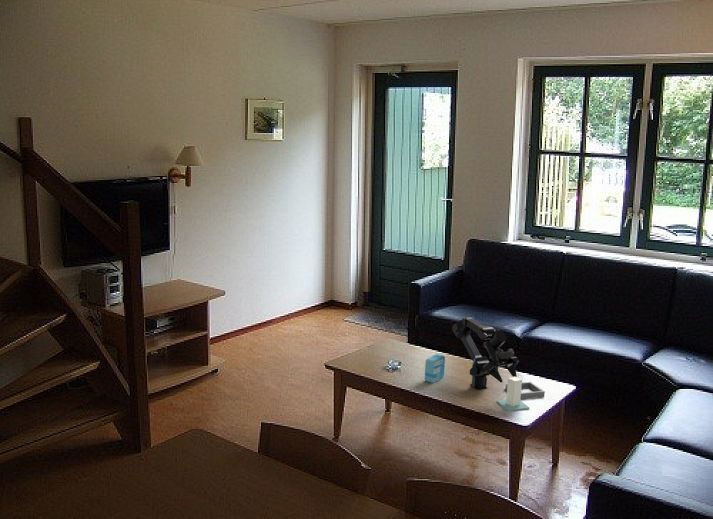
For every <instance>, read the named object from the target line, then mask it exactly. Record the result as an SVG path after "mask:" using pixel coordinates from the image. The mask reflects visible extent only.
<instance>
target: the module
mask: <svg viewBox="0 0 713 519" xmlns="http://www.w3.org/2000/svg"><path fill="white" fill-rule="evenodd" d="M522 383H523V379H522V378H519V377H513V376H512V377H508V378H507V384H508V385H507V390H506V399H505V400H506V403H507V404H509V405H511V406H517V405H520V401H521V399H520V398H521V393H522V388H521V386H522Z"/></svg>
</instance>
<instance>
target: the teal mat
mask: <svg viewBox="0 0 713 519" xmlns="http://www.w3.org/2000/svg"><path fill="white" fill-rule="evenodd" d="M496 403H497V404H499V406H501V407H502V408H503V409H504V410H506V411H507V412H515V411H525V410H530V406H528V405H527V404H526V403H525V402H523V401H521V400H520V405H517V406H511V405H509V404H507V403H506V399H497V400H496Z"/></svg>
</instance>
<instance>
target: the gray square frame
mask: <svg viewBox="0 0 713 519" xmlns="http://www.w3.org/2000/svg"><path fill="white" fill-rule="evenodd" d="M507 385H508V383H505V390H506V391H507ZM526 388H529V389H531V390H532V391H527V392H521V398H520V400H523V399H531V398H533V399H534V398H541V397H542V398H544V397H545V393H546V392H545V390H543V389H542V388H540V387H539V386H537V385H536V384H534V383H533V382H532V381H526V382H525V381H522V386H521V389H526Z"/></svg>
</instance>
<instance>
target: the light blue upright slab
mask: <svg viewBox="0 0 713 519" xmlns="http://www.w3.org/2000/svg"><path fill="white" fill-rule="evenodd" d="M445 364H446V357H445V355H441V354H434V355H431V356H430V357H428V358H426V360H425V365H424V381H425V382H428V383H431V384H434V383H437V381H440V380H441V379H443V378H444V377H445V366H446V365H445Z"/></svg>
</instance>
